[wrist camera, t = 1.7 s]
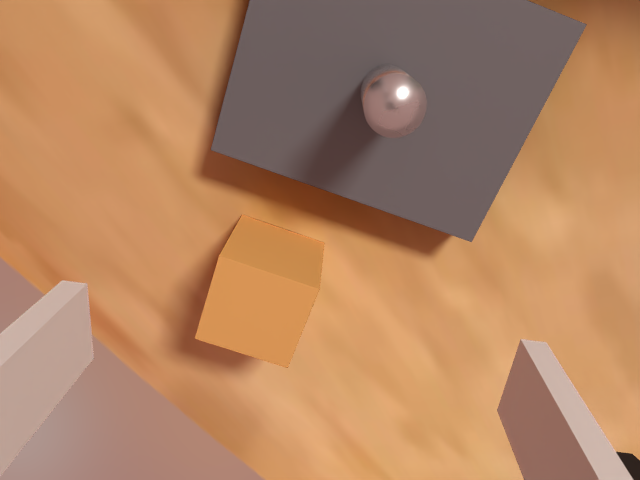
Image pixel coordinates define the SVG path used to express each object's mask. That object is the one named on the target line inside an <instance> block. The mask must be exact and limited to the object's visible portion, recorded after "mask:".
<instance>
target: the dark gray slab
mask: <svg viewBox="0 0 640 480" xmlns="http://www.w3.org/2000/svg"><path fill="white" fill-rule="evenodd" d="M586 25H587V24H584V23H582V22H579V21H577V20H574V19H572V18H570V17H567V16H565V15H562V14H560V13H557V12H555V11H552V10H550V9H547V8H545V7H542V6H540V5H537V4H535V3H533V2H530V1H528V0H250V2H249V5H248V9H247V13H246V17H245V21H244V24H243V28H242V32H241V36H240V40H239V44H238V47H237V51H236V55H235V59H234V63H233V67H232V70H231V74H230V78H229V82H228V86H227V90H226V93H225V97H224V101H223V105H222V109H221V113H220V116H219V120H218V124H217V128H216V132H215V136H214V139H213V143H212V147H211V150H212V151H215V152H218V153H221V154H223V155H226V156H229V157H232V158H235V159H238V160H240V161H243V162H246V163H249V164H252V165H255V166H257V167H260V168H263V169H266V170H269V171H272V172H274V173H277V174H280V175H283V176H286V177H289V178H291V179H294V180H297V181H300V182H303V183H306V184H308V185H311V186H314V187H317V188H320V189H323V190H325V191H328V192H331V193H334V194H337V195H340V196H343V197H345V198H348V199H351V200H354V201H357V202H360V203H362V204H365V205H368V206H371V207H374V208H377V209H379V210H382V211H385V212H388V213H391V214H394V215H396V216H399V217H402V218H405V219H408V220H411V221H413V222H416V223H419V224H422V225H425V226H428V227H430V228H433V229H436V230H439V231H442V232H445V233H447V234H450V235H453V236H456V237H459V238H462V239H464V240H467V241H470V242H472V240H473V238H474V236H475V235H476V233H477V231H478V229H479V227H480V225H481V223H482V221H483V219H484V218H485V216H486V214H487V212H488V210H489V208H490V206H491V204H492V202H493V201H494V199H495V197H496V195H497V193H498V191H499V189H500V187H501V185H502V184H503V182H504V180H505V178H506V176H507V174H508V172H509V170H510V168H511V167H512V165H513V163H514V161H515V159H516V157H517V155H518V153H519V151H520V150H521V148H522V146H523V144H524V142H525V140H526V138H527V136H528V134H529V133H530V131H531V129H532V127H533V125H534V123H535V121H536V119H537V117H538V116H539V114H540V112H541V110H542V108H543V106H544V104H545V102H546V100H547V99H548V97H549V95H550V93H551V91H552V89H553V87H554V85H555V83H556V82H557V80H558V78H559V76H560V74H561V72H562V70H563V68H564V66H565V65H566V63H567V61H568V59H569V57H570V55H571V53H572V51H573V49H574V48H575V46H576V44H577V42H578V40H579V38H580V36H581V34H582V32H583V31H584V29H585V27H586ZM381 65H394V66H397V67H399V68H400V69H402V70H403V71H404V72H406V73H407V74H408V75H410V76H411V77H412V78H414V79H415V80H416V81H417V82H418V83H419V84H420V85H421V87H422V88H423V90H424V92H425V95H426V100H427V108H426V113H425V116H424V118H423V120H422V122H421V124H420V125H419V126H418V127H417V128H416V129H415V130H414V131H413V132H411V133H410V134H408V135H406V136H403V137H399V138H389V137H384V136H382V135H379V134H378V133H376V132H375V131H374V130H373V129H372V128H371V127H370V126H369V124H368V123H367V121H366V118H365V115H364V110H363V105H362V100H361V85H362V82H363V80H364V78H365V76H366V75H367V74H368V73H369V72H370V71H371V70H372V69H374V68H376V67H378V66H381Z"/></svg>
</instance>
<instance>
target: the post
mask: <svg viewBox="0 0 640 480" xmlns="http://www.w3.org/2000/svg"><path fill="white" fill-rule="evenodd" d="M361 100H362V105H363V110H364V115H365V118H366V121H367V123H368V124H369V126H370V127H371V128H372V129H373V130H374V131H375V132H376V133H378V134H379V135H382V136H384V137H389V138H399V137H403V136H406V135H408V134H410V133H411V132H413V131H414V130H415V129H416V128H417V127H418V126H419V125H420V124H421V122H422V120H423V118H424V116H425V113H426V108H427V100H426V95H425V92H424V90H423V88H422V87H421V85H420V84H419V83H418V82H417V81H416V80H415V79H414V78H412V77H411V76H410V75H408V74H407V73H406V72H404V71H403V70H402V69H400V68H399V67H397V66H394V65H381V66H378V67H376V68H374V69H372V70H371V71H370V72H369V73H368V74H367V75H366V76H365V78H364V80H363V82H362V85H361Z"/></svg>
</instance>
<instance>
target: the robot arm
mask: <svg viewBox="0 0 640 480" xmlns="http://www.w3.org/2000/svg"><path fill="white" fill-rule="evenodd" d="M93 359H94V355H93V345H92V332H91V321H90V309H89V297H88V286H87V283H79V282H71V281H63V280H62V281H61V282H60V283H59V284H57V285H56V286H55V287H54V288H53V289H52V290H50V291H49V292H48V293H47V294H46V295H45V296H44V297H43V298H41V299H40V300H39V301H38V302H36V303H35V304H34V305H33V306H32V307H31V308H30V309H28V310H27V311H26V312H25V313H24V314H22V315H21V316H20V317H19V318H18V319H17V320H16V321H14V322H13V323H12V324H11V325H10V326H9V327H7V328H6V329H5V330H4V331H3V332H2V333H0V477H1V475H2V474H3V473H4V472H5V470H6V469H7V468H8V466H9V465H10V464H11V463H12V461H13V460H14V459H15V458H16V456H17V455H18V454H19V453H20V451H21V450H22V449H23V447H24V446H25V445H26V444H27V442H28V441H29V440H30V438H31V437H32V436H33V435H34V433H35V432H36V431H37V430H38V428H39V427H40V426H41V424H42V423H43V422H44V421H45V420H46V418H47V417H48V415H49V414H50V413H51V412H52V410H53V409H54V408H55V407H56V406H57V404H58V403H59V402H60V400H61V399H62V398H63V397H64V395H65V394H66V393H67V391H68V390H69V389H70V388H71V387H72V385H73V384H74V383H75V381H76V380H77V379H78V378H79V376H80V375H81V374H82V372H83V371H84V370H85V369H86V367H87V366H88V365H89V364H90V362H91V361H92V360H93ZM497 411H498V414H499V416H500V419H501V421H502V424H503V427H504V429H505V432H506V434H507V437H508V439H509V442H510V445H511V447H512V450H513V452H514V455H515V457H516V460H517V462H518V465H519V468H520V470H521V473H522V475H523V478H524V480H640V460H638V459H637V458H636V457H635V456H634V455H633V454H629V453H621V452H615V450H614V448H613V447H612V445H611V444H610V442H609V440H608V439H607V437H606V436H605V434H604V433H603V431H602V429H601V428H600V426H599V425H598V423H597V422H596V420H595V418H594V417H593V415H592V414H591V412H590V411H589V409H588V407H587V406H586V404H585V403H584V401H583V399H582V398H581V396H580V395H579V393H578V392H577V390H576V388H575V387H574V385H573V384H572V382H571V381H570V379H569V377H568V376H567V374H566V373H565V371H564V370H563V368H562V366H561V365H560V363H559V362H558V360H557V358H556V357H555V355H554V354H553V352H552V351H551V349H550V347H549V346H548V344H547V343H546V342H540V341H532V340H524V339H521V340H520V343H519V346H518V349H517V352H516V355H515V358H514V361H513V364H512V367H511V370H510V373H509V376H508V379H507V382H506V385H505V388H504V391H503V394H502V397H501V400H500V403H499V406H498V409H497Z"/></svg>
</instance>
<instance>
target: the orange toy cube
mask: <svg viewBox="0 0 640 480" xmlns="http://www.w3.org/2000/svg"><path fill="white" fill-rule="evenodd" d="M323 252H324V242H321V241H318V240H315V239H312V238H309V237H306V236H303V235H300V234H297V233H294V232H291V231H289V230H286V229H283V228H280V227H277V226H274V225H271V224H268V223H265V222H262V221H259V220H256V219H254V218H251V217H248V216H245V215H242V216H241V218H240V219H239V221H238V223H237V225H236V226H235V228H234V230H233V232H232V234H231V235H230V237H229V239H228V241H227V242H226V244H225V246H224V248H223V250H222V251H221V253H220V255H219V258H218V261H217V264H216V268H215V271H214V275H213V278H212V281H211V285H210V288H209V292H208V295H207V298H206V302H205V305H204V308H203V312H202V315H201V319H200V322H199V325H198V329H197V332H196V336H195V339H197V340H200V341H204V342H207V343H210V344H213V345H216V346H219V347H223V348H226V349H229V350H232V351H235V352H238V353H242V354H245V355H248V356H251V357H254V358H257V359H261V360H264V361H267V362H270V363H273V364H276V365H279V366H283V367H286V368H288V366H289V364H290V361H291V359H292V356H293V354H294V351H295V349H296V346H297V344H298V341H299V339H300V336H301V334H302V331H303V329H304V327H305V324H306V322H307V319H308V317H309V314H310V312H311V309H312V307H313V304H314V302H315V299H316V297H317V294H318V292H319V289H320V281H321V271H322V262H323Z"/></svg>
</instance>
